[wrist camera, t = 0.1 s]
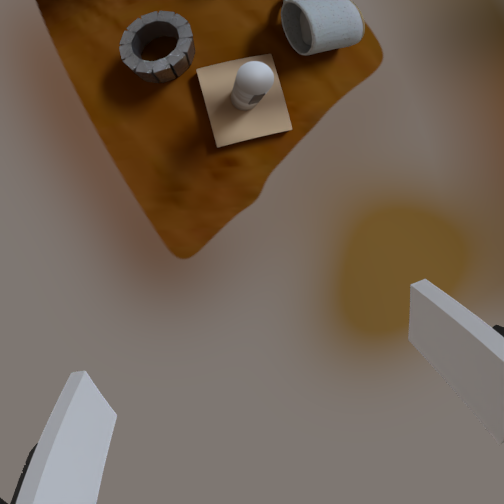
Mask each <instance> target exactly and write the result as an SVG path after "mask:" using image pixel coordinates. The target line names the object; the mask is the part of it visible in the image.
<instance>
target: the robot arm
mask: <svg viewBox="0 0 504 504" xmlns="http://www.w3.org/2000/svg"><path fill="white" fill-rule="evenodd" d="M410 286H411V287H410V320H409V338H408V340H409V341H410V342H411V343H412V344H413V345H414V346H415V348H416V349H417V350H418V351H419V352H420V353H421V354H422V355H423V356H424V357H425V359H426V360H427V361H428V362H429V363H430V364H431V365H432V366H433V367H434V368H435V370H436V371H437V372H438V373H439V374H440V375H441V376H442V378H443V379H444V380H445V381H446V382H447V383H448V384H449V385H450V386H451V388H452V389H453V390H454V391H455V392H456V394H457V395H458V396H459V397H460V398H461V399H462V401H463V402H464V403H465V404H466V405H467V406H468V408H469V409H470V410H471V411H472V412H473V414H474V415H475V416H476V417H477V418H478V420H479V421H480V422H481V423H482V424H483V426H484V427H485V428H486V429H487V431H488V432H489V433H490V434H491V436H492V437H493V438H494V439H495V441H496V442H497V443H498V444H499V445H500V444H502V443H503V442H504V327H501V326H499V325H495V326H494V327H490V326H489V325H487V324H486V323H485V322H484V321H483V320H481V319H480V318H479V317H477V316H476V315H475V314H473V313H472V312H471V311H469V310H468V309H467V308H465V307H464V306H463V305H461V304H460V303H458V302H457V301H456V300H454V299H453V298H452V297H450V296H449V295H448V294H446V293H445V292H443V291H442V290H441V289H439V288H438V287H436V286H435V285H433V284H432V283H430V282H429V281H428V280H426V279H424V280H421V281H419V282H416V283H414V284H411V285H410ZM116 418H117V415H116V413H115V412H114V411H113V409H112V408H111V407H110V405H109V404H108V403H107V401H106V400H105V399H104V397H103V396H102V395H101V393H100V392H99V390H98V389H97V387H96V386H95V384H94V383H93V381H92V380H91V378H90V377H89V375H88V374H87V372H86V371H79V372H72V373H71V375H70V377H69V379H68V381H67V383H66V384H65V386H64V388H63V390H62V393H61V394H60V397H59V398H58V401H57V403H56V405H55V407H54V409H53V411H52V413H51V415H50V418H49V420H48V422H47V424H46V426H45V428H44V431H43V433H42V435H41V438H40V440H39V442H38V443H37V444H36V445H35V446H34V448H33V449H32V450H31V451H30V453H29V456H28V458H27V460H26V465H24V468H23V470H22V471H23V473H21V476H20V478H19V481H18V484H17V487H16V489H15V492H14V495H13V498H12V501H11V503H10V504H96V503H97V498H98V493H99V488H100V483H101V478H102V474H103V469H104V465H105V461H106V457H107V452H108V448H109V444H110V440H111V436H112V433H113V429H114V425H115V422H116ZM0 504H8V503H6V502H5V501H4V500H3V499H1V498H0Z"/></svg>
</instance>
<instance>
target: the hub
mask: <svg viewBox="0 0 504 504" xmlns="http://www.w3.org/2000/svg"><path fill="white" fill-rule="evenodd" d="M141 18H142V20H141V19H140V18H138V19H136V20H135V21H134V22H133V23H132V24H131V25H130V26H129V27H127V30H128V31H124V34H123V36H122V39H121V41H120V45H121V46H119V49H120V54H121V59H122V60H123V62H124V63H125V64H126V65H127V66H128V67H129V68H130V69H131V70H132V71H133V72H134V73H135V74H137V75H138V76H139V77H140V78H141V79H142V80H145V81H146V82H153V83H159V82H161V83H164V82H167V81H170V80H173V79H176V76H178V77H179V76H180V75H182V74H183V73H184V72H185V71H186V70H187V69H188V68H189V65H191V63H192V60H193V58H194V55H195V46H194V41H193V36H192V32H191V28H190V25H189V24H188V21H187V20H185V19H184V18H183V17H181V16H180V15H179V14H176V15H175V12H167V11H159V13H157V11H155V12H152V13H149V14H146V15H143V16H141ZM162 36H168V37H174V38H176V39H177V40H178V43H177V46H176V48H175V49H174V50H173V51H172V52H171V53H170V54H169V55H168V56H167V57H165V58H162V59H159V60H156V61H146V60H142V57H141V56H142V53H143V50H144V48H145V46H146V45H147V44H148V43H150V42H151V41H152V40H153V39H156V38H159V37H162ZM175 75H176V76H175Z"/></svg>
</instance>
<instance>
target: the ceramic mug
mask: <svg viewBox="0 0 504 504" xmlns="http://www.w3.org/2000/svg"><path fill="white" fill-rule="evenodd" d="M281 20H282V26H283V29H284V32H285V34H286V37H287V39H288V41H289V43H290V44H291V46H292V47H293V49H294V50H295V51H296V52H297V53H299V54H301V55H305V56H307V55H312V54H315V53H320V52H324V51H329V50H333V49H338V48H344V47H348V46H351V45H354V44H356V43H358V42H359V41H360V40H361V39H362V37H363V35H364V31H365V25H364V18H363V16H362V14H361V11H360V10H359V8H358V7H357V6H356V5H355V4H354V2H352V1H351V0H283V6H282V9H281Z"/></svg>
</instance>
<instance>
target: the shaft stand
mask: <svg viewBox="0 0 504 504" xmlns="http://www.w3.org/2000/svg"><path fill="white" fill-rule="evenodd" d="M196 71H197V75H198V78H199V82H200V86H201V90H202V93H203V97H204V101H205V104H206V108H207V112H208V115H209V119H210V123H211V126H212V130H213V134H214V137H215V141H216V145H217V148H219V147H222V146H226V145H230V144H234V143H238V142H242V141H246V140H250V139H254V138H258V137H262V136H266V135H271V134H275V133H280V132H285V131H289V130H292V126H291V122H290V118H289V114H288V110H287V107H286V103H285V99H284V96H283V92H282V88H281V85H280V81H279V78H278V74H277V71H276V68H275V64H274V61H273V58H272V54H264V55H259V56H253V57H248V58H242V59H237V60H233V61H228V62H224V63H219V64H215V65H211V66H207V67H203V68H199V69H196Z"/></svg>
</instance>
